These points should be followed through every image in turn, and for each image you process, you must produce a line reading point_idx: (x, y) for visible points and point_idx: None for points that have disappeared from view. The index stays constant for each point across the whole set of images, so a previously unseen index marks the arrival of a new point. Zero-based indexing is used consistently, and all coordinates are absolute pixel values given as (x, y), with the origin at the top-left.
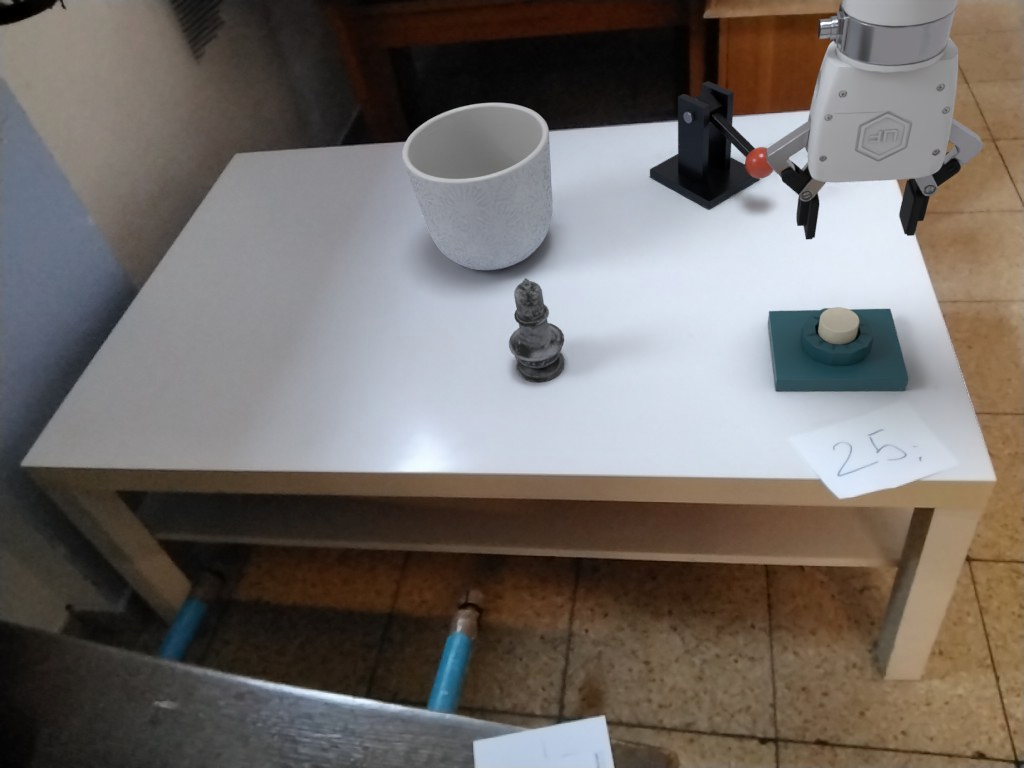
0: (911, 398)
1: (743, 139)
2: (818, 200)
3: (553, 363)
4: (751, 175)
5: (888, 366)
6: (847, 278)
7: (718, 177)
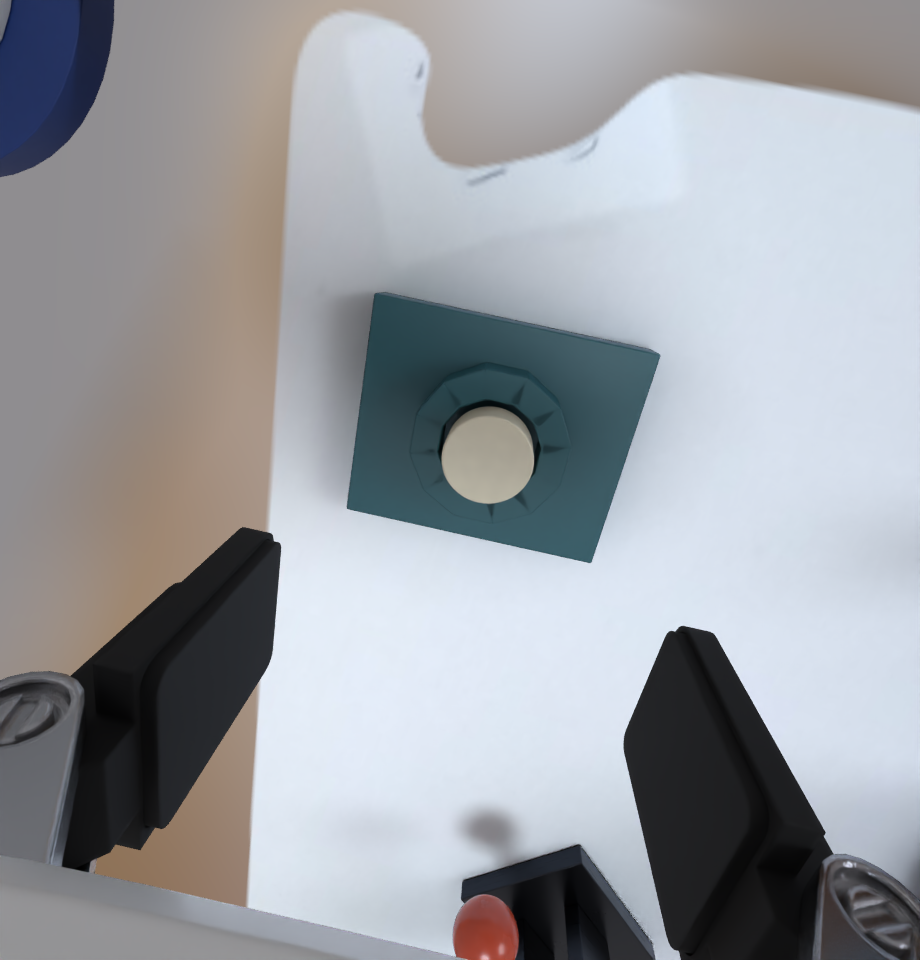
0: (378, 267)
1: None
2: (747, 838)
3: None
4: (509, 908)
5: (405, 340)
6: (393, 619)
7: (540, 910)
